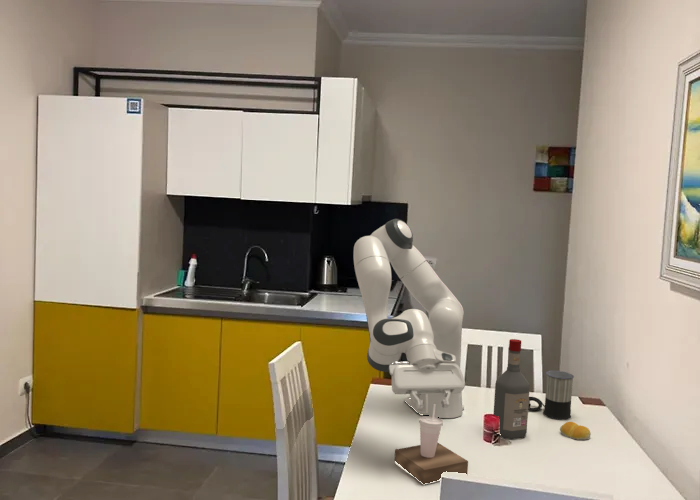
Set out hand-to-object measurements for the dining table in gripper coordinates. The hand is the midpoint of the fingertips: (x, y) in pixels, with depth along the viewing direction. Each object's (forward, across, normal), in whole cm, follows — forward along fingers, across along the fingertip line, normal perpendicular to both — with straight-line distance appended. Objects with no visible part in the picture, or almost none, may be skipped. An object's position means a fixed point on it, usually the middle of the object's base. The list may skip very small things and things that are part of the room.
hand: (433, 407), depth 166 cm
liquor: (-4, +35, +28) cm, 45 cm away
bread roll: (-1, +56, +26) cm, 62 cm away
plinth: (+12, 0, +13) cm, 17 cm away
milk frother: (-16, +57, +40) cm, 72 cm away
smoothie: (+9, -1, +10) cm, 14 cm away
